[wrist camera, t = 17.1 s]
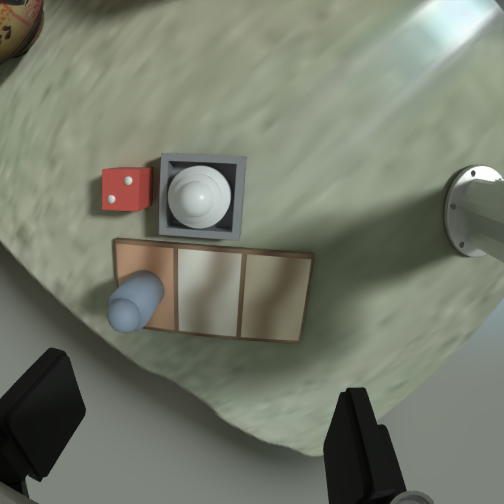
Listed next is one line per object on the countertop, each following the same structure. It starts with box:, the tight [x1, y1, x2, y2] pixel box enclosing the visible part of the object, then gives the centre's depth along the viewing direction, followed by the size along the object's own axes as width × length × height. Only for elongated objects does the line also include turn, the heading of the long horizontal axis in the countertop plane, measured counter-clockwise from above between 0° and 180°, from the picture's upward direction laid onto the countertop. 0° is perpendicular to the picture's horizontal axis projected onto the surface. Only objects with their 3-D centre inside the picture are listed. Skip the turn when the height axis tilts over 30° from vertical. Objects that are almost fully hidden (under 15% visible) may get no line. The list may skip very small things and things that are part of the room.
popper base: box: [159, 153, 247, 241], centre depth 34 cm, size 9×9×3 cm
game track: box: [114, 238, 314, 344], centre depth 38 cm, size 24×12×1 cm, turn 86°
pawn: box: [107, 270, 164, 333], centre depth 34 cm, size 5×5×9 cm
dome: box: [168, 166, 231, 228], centre depth 31 cm, size 6×6×5 cm
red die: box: [102, 167, 153, 211], centre depth 33 cm, size 4×4×4 cm
